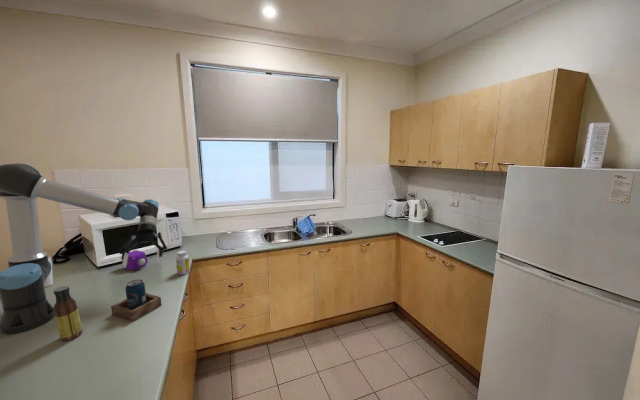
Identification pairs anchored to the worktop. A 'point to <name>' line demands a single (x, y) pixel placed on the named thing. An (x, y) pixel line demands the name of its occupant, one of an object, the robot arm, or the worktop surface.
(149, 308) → the brown wooden shallow tray
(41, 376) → the worktop surface
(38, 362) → the worktop surface
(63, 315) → the sauce bottle
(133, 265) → the toy camera
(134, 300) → the soda can
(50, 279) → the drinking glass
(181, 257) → the supplement bottle
